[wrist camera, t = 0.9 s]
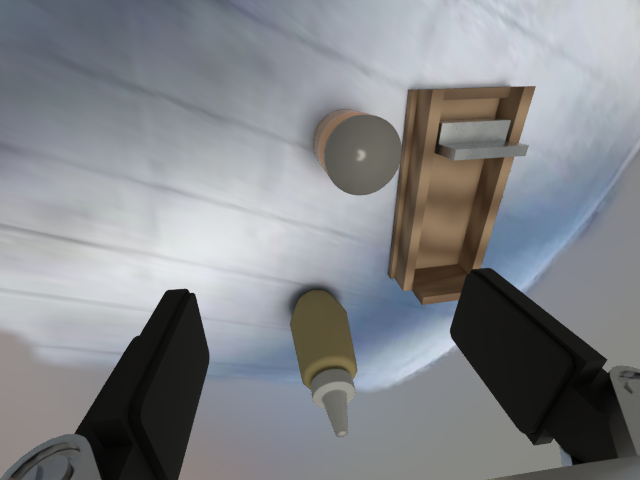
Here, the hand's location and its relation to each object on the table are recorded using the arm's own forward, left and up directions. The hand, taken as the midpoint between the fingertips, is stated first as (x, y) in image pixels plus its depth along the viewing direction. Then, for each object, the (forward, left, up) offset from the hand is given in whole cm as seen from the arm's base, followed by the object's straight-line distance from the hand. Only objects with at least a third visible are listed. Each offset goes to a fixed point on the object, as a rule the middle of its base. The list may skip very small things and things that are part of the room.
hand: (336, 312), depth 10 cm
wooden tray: (+5, +19, -25) cm, 31 cm away
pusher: (-2, +19, -23) cm, 30 cm away
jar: (-1, +6, -25) cm, 25 cm away
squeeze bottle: (+22, +2, -25) cm, 33 cm away
